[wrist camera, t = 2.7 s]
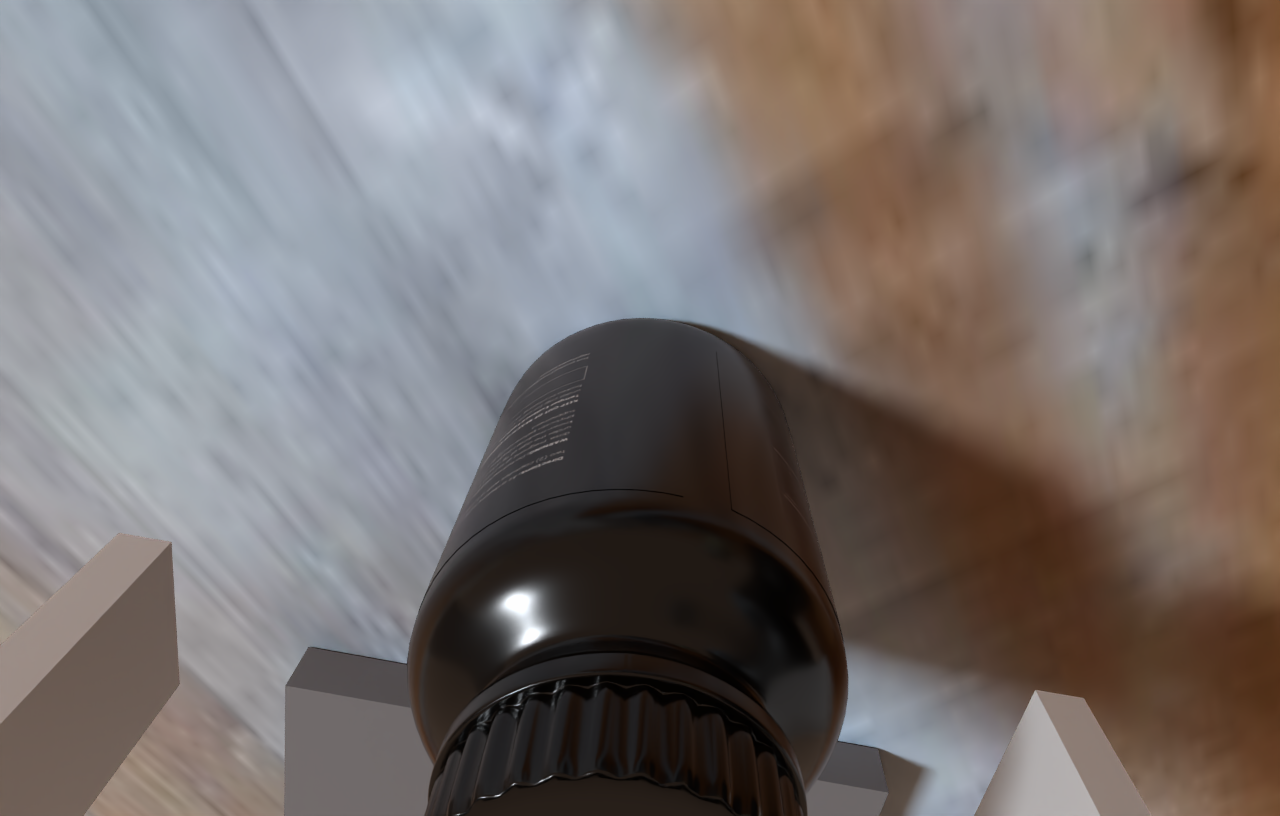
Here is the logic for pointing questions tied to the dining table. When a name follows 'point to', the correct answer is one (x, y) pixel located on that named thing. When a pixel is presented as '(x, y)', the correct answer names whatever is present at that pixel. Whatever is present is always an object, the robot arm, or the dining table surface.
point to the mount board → (401, 769)
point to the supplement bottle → (631, 596)
